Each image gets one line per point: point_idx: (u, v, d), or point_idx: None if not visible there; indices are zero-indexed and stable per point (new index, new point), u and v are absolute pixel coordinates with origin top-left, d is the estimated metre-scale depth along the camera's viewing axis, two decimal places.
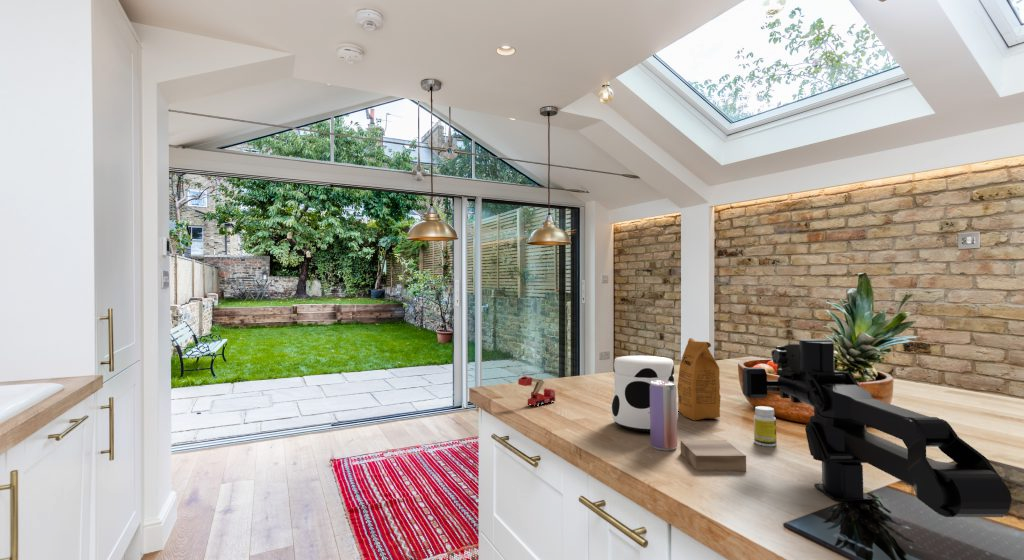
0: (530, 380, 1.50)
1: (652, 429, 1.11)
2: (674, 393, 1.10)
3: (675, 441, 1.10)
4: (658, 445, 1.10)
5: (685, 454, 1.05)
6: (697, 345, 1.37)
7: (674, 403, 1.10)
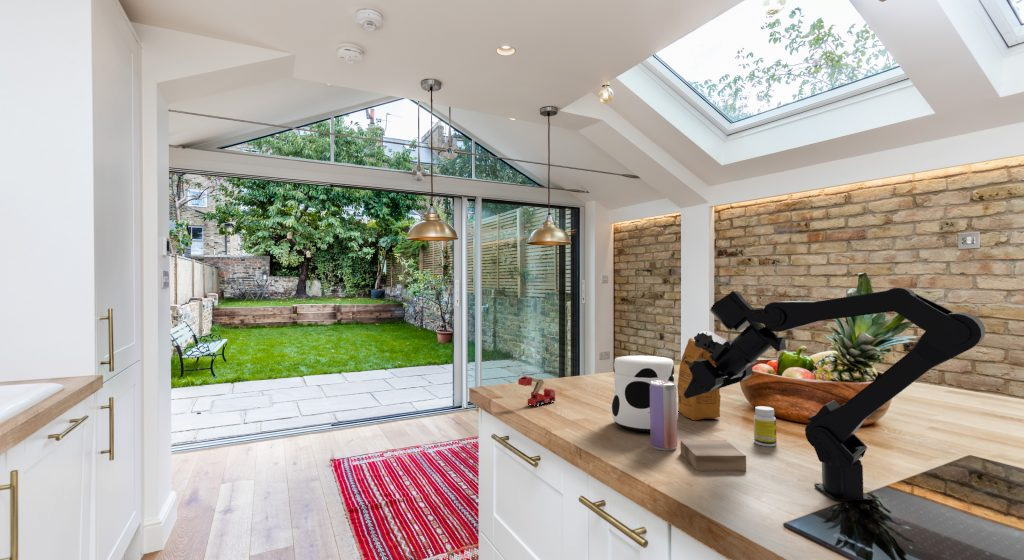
0: (530, 380, 1.50)
1: (652, 429, 1.11)
2: (674, 393, 1.10)
3: (675, 441, 1.10)
4: (658, 445, 1.10)
5: (685, 454, 1.05)
6: None
7: (674, 403, 1.10)
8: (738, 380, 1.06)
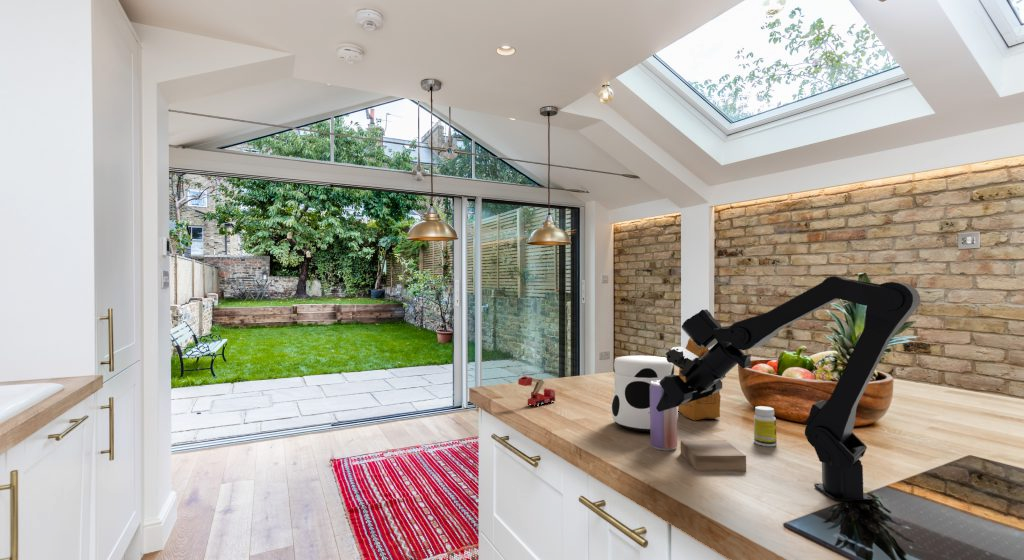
0: (530, 380, 1.50)
1: (652, 429, 1.11)
2: None
3: (675, 441, 1.10)
4: (658, 445, 1.10)
5: (685, 454, 1.05)
6: None
7: None
8: (708, 394, 1.10)
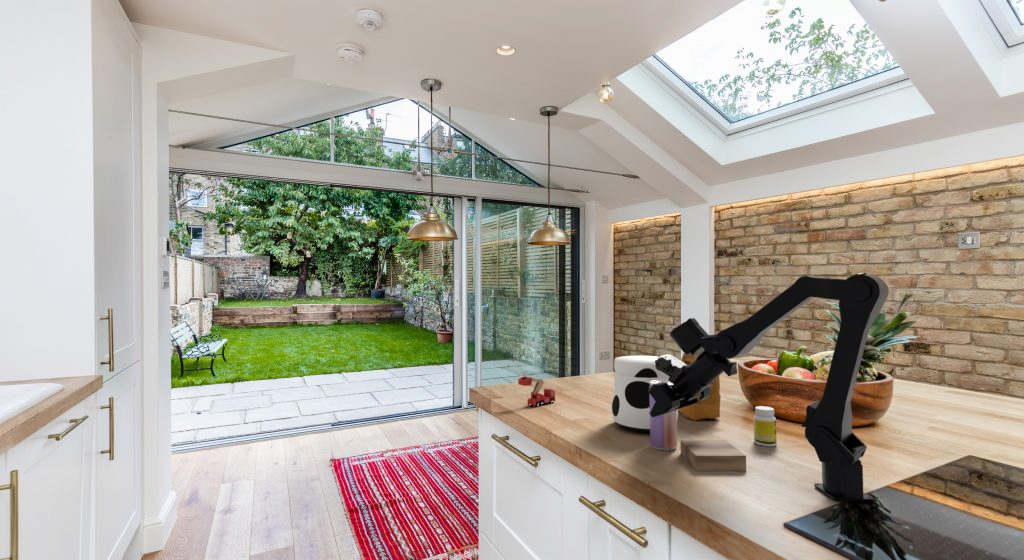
0: (530, 380, 1.50)
1: (652, 429, 1.11)
2: None
3: (675, 441, 1.10)
4: (658, 445, 1.10)
5: (685, 454, 1.05)
6: None
7: None
8: (693, 402, 1.11)
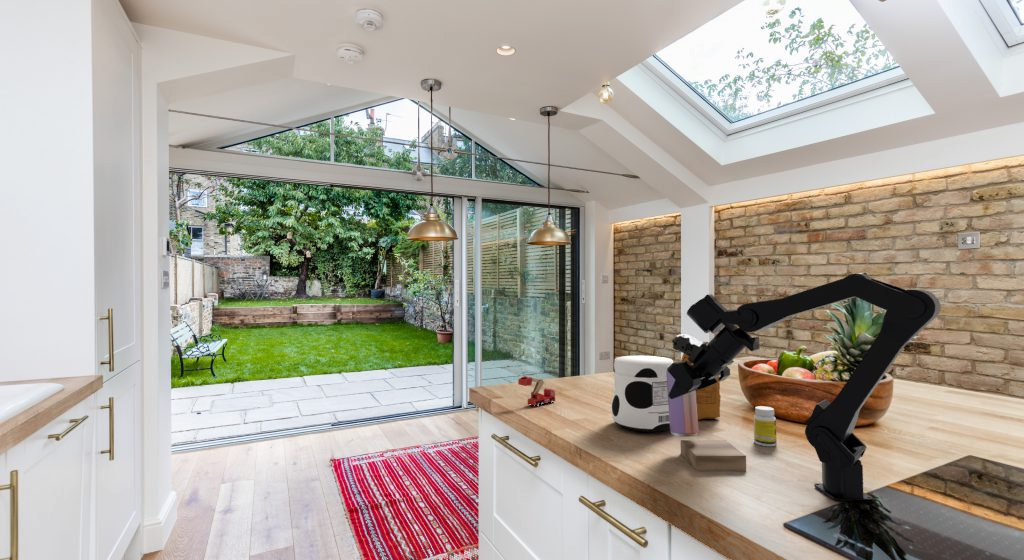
0: (530, 380, 1.50)
1: (671, 415, 1.07)
2: None
3: (696, 426, 1.05)
4: (679, 430, 1.05)
5: (685, 454, 1.05)
6: None
7: None
8: (713, 382, 1.07)
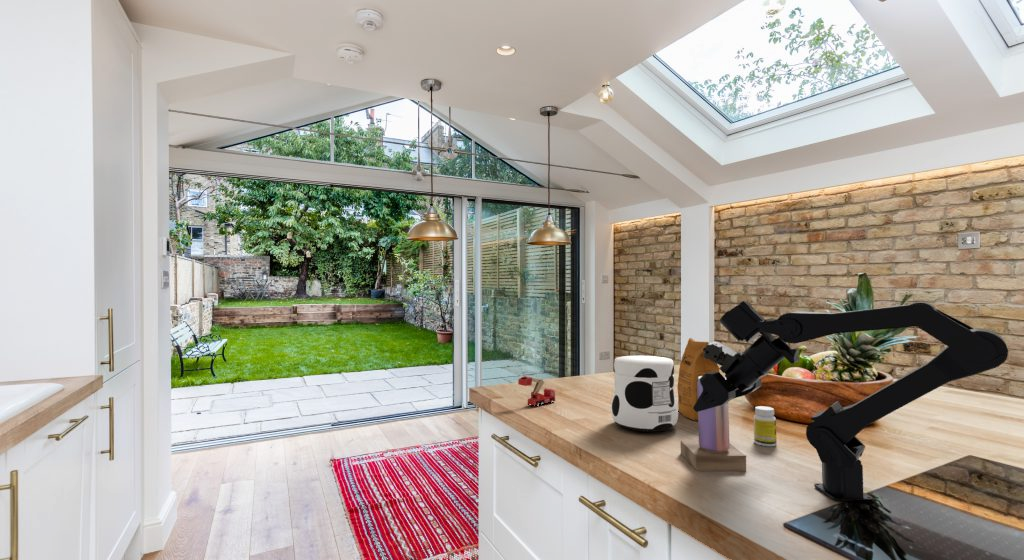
0: (530, 380, 1.50)
1: (702, 430, 1.00)
2: None
3: (728, 442, 0.99)
4: (710, 447, 0.99)
5: (685, 454, 1.05)
6: (697, 345, 1.37)
7: None
8: (747, 392, 1.03)
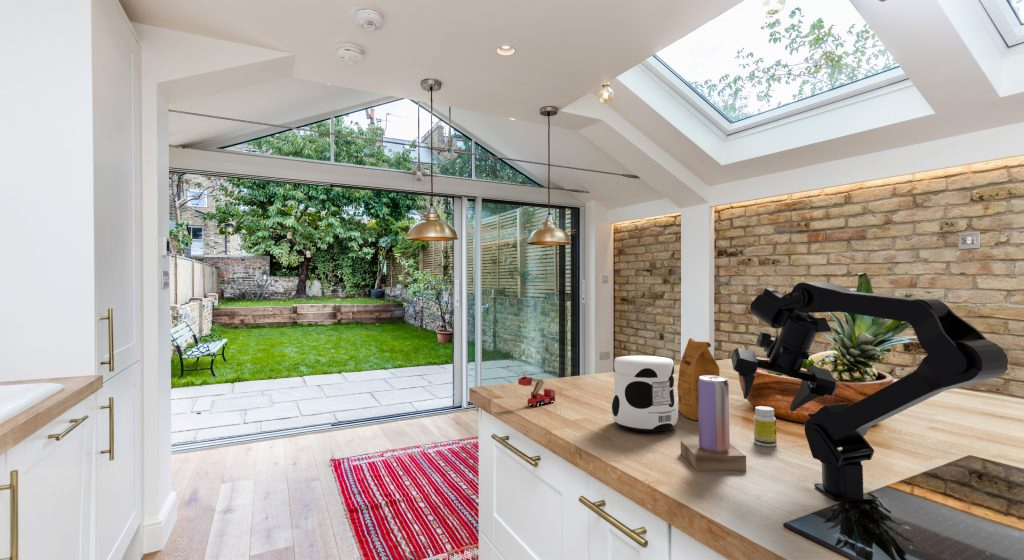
0: (530, 380, 1.50)
1: (702, 430, 1.00)
2: (727, 389, 0.99)
3: (728, 443, 0.99)
4: (710, 447, 0.99)
5: (685, 454, 1.05)
6: (697, 345, 1.38)
7: (727, 401, 0.99)
8: (814, 392, 0.95)
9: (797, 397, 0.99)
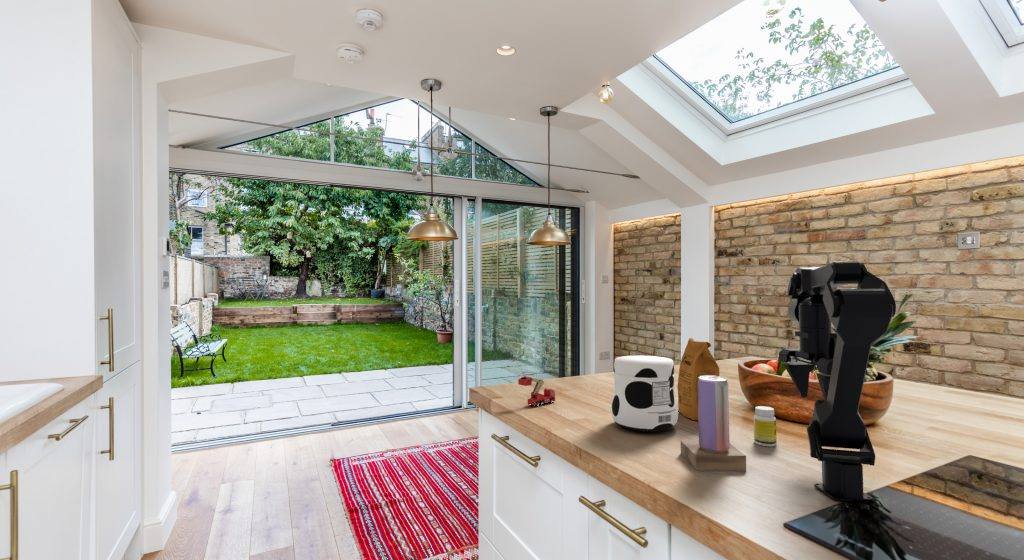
0: (530, 380, 1.50)
1: (702, 430, 1.00)
2: (727, 389, 0.99)
3: (728, 443, 0.99)
4: (710, 447, 0.99)
5: (685, 454, 1.05)
6: (697, 345, 1.37)
7: (727, 401, 0.99)
8: (820, 374, 0.94)
9: None
